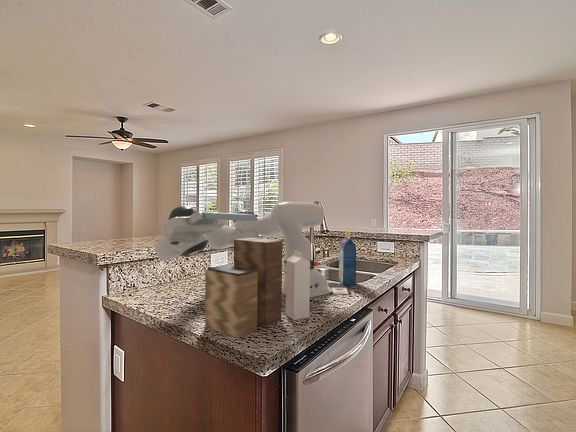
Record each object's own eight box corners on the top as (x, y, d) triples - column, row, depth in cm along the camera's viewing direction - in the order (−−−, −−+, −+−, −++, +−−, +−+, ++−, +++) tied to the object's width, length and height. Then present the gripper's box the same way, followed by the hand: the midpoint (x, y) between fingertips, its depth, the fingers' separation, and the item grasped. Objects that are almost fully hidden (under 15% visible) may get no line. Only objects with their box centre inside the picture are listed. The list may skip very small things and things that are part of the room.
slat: (194, 217, 100) (194, 212, 100) (205, 217, 104) (205, 212, 104) (244, 220, 88) (244, 214, 87) (255, 220, 91) (255, 214, 91)
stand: (233, 317, 104) (233, 239, 104) (249, 310, 111) (250, 237, 110) (265, 327, 96) (266, 242, 95) (281, 319, 103) (282, 240, 102)
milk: (293, 320, 102) (294, 253, 102) (285, 314, 108) (285, 250, 107) (309, 317, 105) (310, 252, 104) (300, 311, 111) (301, 249, 110)
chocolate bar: (346, 283, 151) (351, 293, 133) (346, 285, 151) (351, 295, 133) (327, 282, 151) (330, 293, 133) (327, 284, 151) (330, 295, 133)
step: (205, 326, 96) (205, 268, 95) (224, 319, 103) (224, 264, 102) (238, 338, 88) (238, 274, 87) (257, 329, 94) (257, 269, 94)
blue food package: (342, 286, 147) (343, 233, 147) (338, 280, 159) (339, 231, 159) (355, 286, 147) (357, 233, 147) (350, 280, 159) (351, 231, 159)
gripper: (213, 239, 114) (236, 221, 107) (162, 244, 97) (186, 224, 90) (207, 224, 116) (230, 205, 109) (156, 226, 99) (179, 204, 92)
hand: (210, 214), depth 99 cm, fingers closed on slat, 4 cm apart
